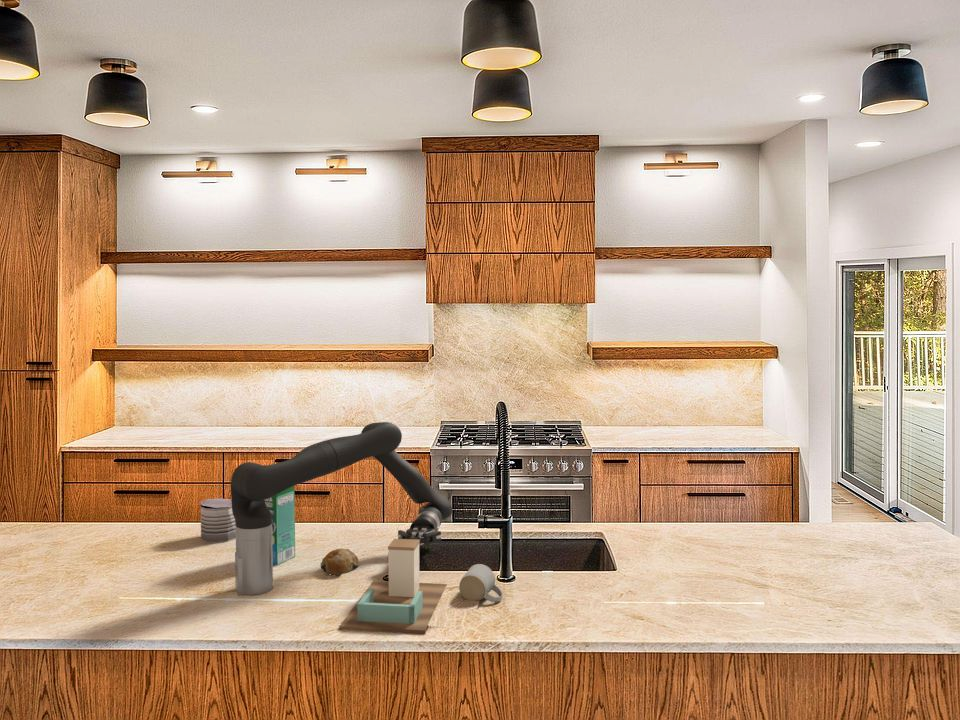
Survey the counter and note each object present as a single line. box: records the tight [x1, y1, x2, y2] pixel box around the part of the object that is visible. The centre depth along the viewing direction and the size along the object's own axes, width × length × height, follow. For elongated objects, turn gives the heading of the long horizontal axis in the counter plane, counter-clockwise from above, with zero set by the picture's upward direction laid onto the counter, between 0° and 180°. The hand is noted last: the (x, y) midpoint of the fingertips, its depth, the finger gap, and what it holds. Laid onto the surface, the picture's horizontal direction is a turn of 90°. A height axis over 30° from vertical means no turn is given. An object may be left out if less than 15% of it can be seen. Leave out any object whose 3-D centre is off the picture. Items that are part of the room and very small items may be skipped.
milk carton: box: [265, 486, 296, 566], centre depth 224 cm, size 9×9×25 cm
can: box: [199, 498, 236, 544], centre depth 246 cm, size 11×11×12 cm
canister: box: [387, 538, 420, 597], centre depth 197 cm, size 7×7×13 cm
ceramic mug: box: [458, 563, 504, 603], centre depth 195 cm, size 11×8×8 cm
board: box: [339, 580, 447, 635], centre depth 189 cm, size 30×20×1 cm, turn 173°
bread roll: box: [319, 548, 359, 576], centre depth 216 cm, size 10×10×8 cm
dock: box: [357, 588, 423, 624], centre depth 182 cm, size 10×13×4 cm
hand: (413, 545), depth 207 cm, fingers closed
